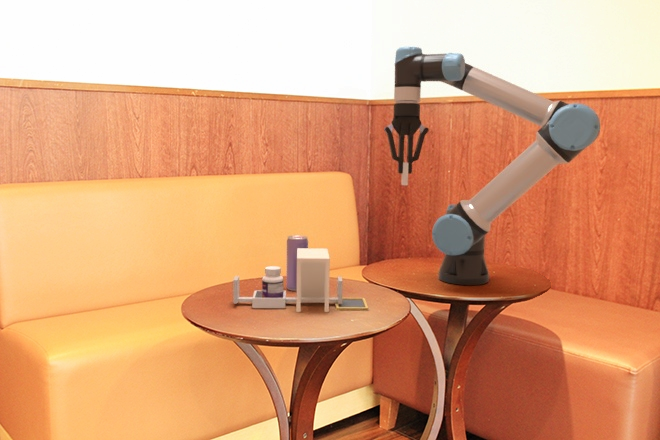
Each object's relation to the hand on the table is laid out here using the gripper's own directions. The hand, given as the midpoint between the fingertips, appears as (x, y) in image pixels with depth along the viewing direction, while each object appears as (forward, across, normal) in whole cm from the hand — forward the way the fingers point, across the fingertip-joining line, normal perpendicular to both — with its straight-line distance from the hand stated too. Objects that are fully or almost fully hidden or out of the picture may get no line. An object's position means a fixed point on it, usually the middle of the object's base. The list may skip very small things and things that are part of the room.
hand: (404, 184), depth 188 cm
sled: (+29, +33, +25) cm, 51 cm away
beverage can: (+30, +31, +8) cm, 44 cm away
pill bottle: (+30, +37, +25) cm, 54 cm away
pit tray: (+29, +17, +25) cm, 42 cm away
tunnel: (+29, +27, +25) cm, 47 cm away
